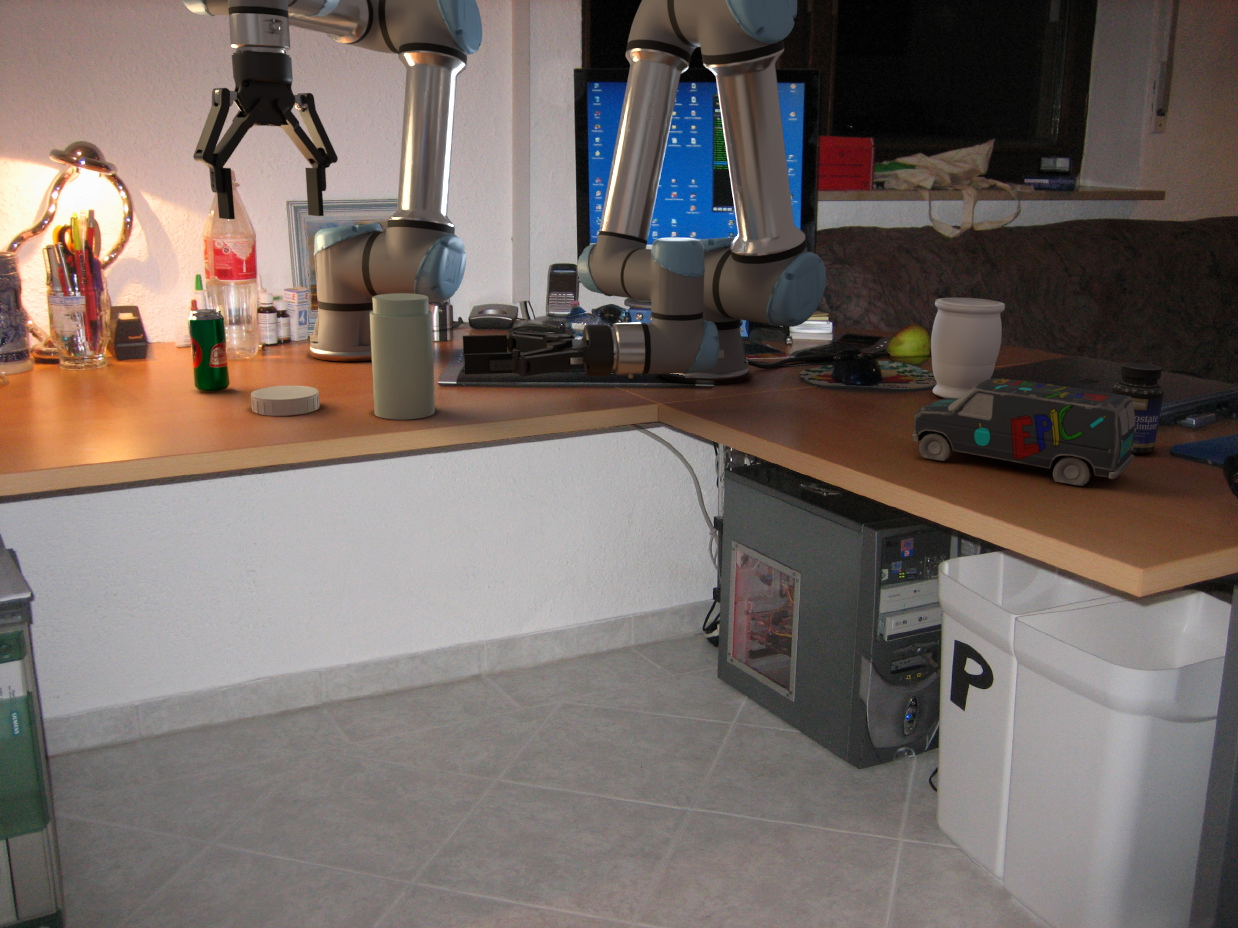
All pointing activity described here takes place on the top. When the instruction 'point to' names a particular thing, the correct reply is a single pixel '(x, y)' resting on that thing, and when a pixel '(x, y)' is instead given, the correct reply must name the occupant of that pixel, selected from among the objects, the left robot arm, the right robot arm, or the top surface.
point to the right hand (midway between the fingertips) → (463, 354)
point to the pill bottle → (1142, 401)
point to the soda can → (209, 350)
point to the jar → (964, 343)
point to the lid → (285, 400)
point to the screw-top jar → (402, 356)
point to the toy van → (1033, 428)
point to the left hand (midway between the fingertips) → (273, 217)
